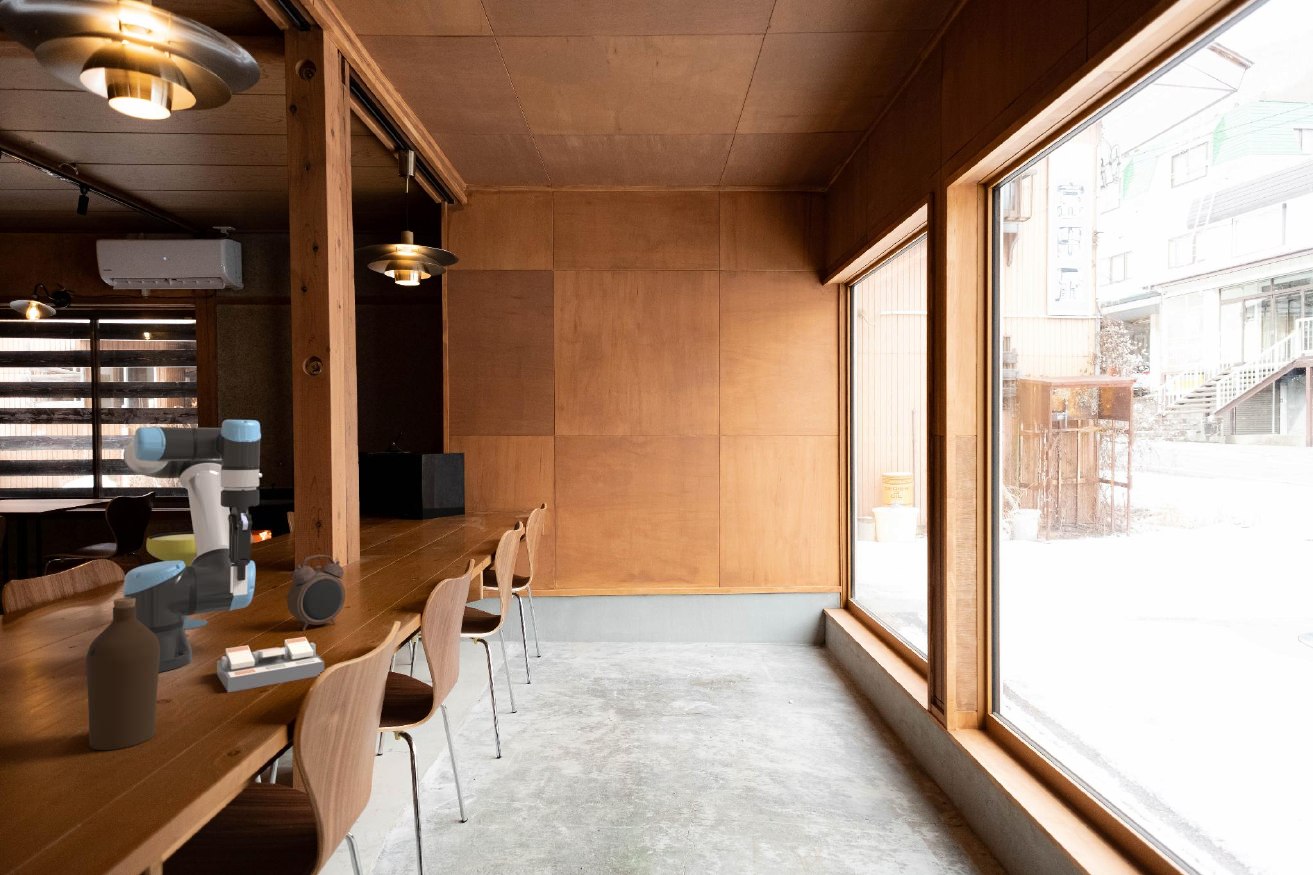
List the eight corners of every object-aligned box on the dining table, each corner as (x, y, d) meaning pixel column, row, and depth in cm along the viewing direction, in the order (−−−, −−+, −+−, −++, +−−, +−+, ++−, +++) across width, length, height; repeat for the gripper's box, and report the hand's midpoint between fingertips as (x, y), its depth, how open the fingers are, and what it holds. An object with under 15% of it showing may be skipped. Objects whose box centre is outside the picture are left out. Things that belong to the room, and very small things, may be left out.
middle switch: (262, 657, 160) (262, 651, 161) (255, 656, 166) (255, 650, 166) (284, 653, 163) (284, 648, 163) (277, 652, 169) (276, 647, 169)
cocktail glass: (237, 620, 209) (239, 533, 209) (181, 636, 191) (182, 542, 191) (187, 614, 214) (189, 529, 214) (128, 630, 196) (129, 538, 196)
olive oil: (136, 751, 124) (138, 606, 124) (69, 753, 123) (71, 606, 123) (171, 726, 135) (173, 592, 135) (110, 727, 134) (112, 592, 134)
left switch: (231, 669, 157) (231, 664, 157) (225, 653, 163) (225, 648, 162) (254, 665, 160) (254, 660, 159) (247, 650, 165) (248, 644, 165)
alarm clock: (297, 634, 196) (299, 560, 196) (284, 629, 200) (286, 557, 200) (348, 623, 208) (350, 553, 207) (335, 619, 212) (336, 550, 212)
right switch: (292, 659, 164) (292, 654, 164) (284, 644, 170) (284, 639, 170) (313, 655, 167) (313, 650, 167) (304, 641, 173) (305, 636, 173)
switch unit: (227, 692, 153) (228, 667, 153) (216, 674, 163) (217, 651, 163) (324, 674, 165) (324, 651, 165) (307, 659, 175) (308, 637, 175)
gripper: (266, 490, 159) (264, 597, 159) (252, 485, 171) (250, 585, 171) (227, 491, 154) (225, 602, 155) (215, 486, 167) (213, 588, 167)
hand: (238, 592), depth 163 cm, fingers open, 3 cm apart
